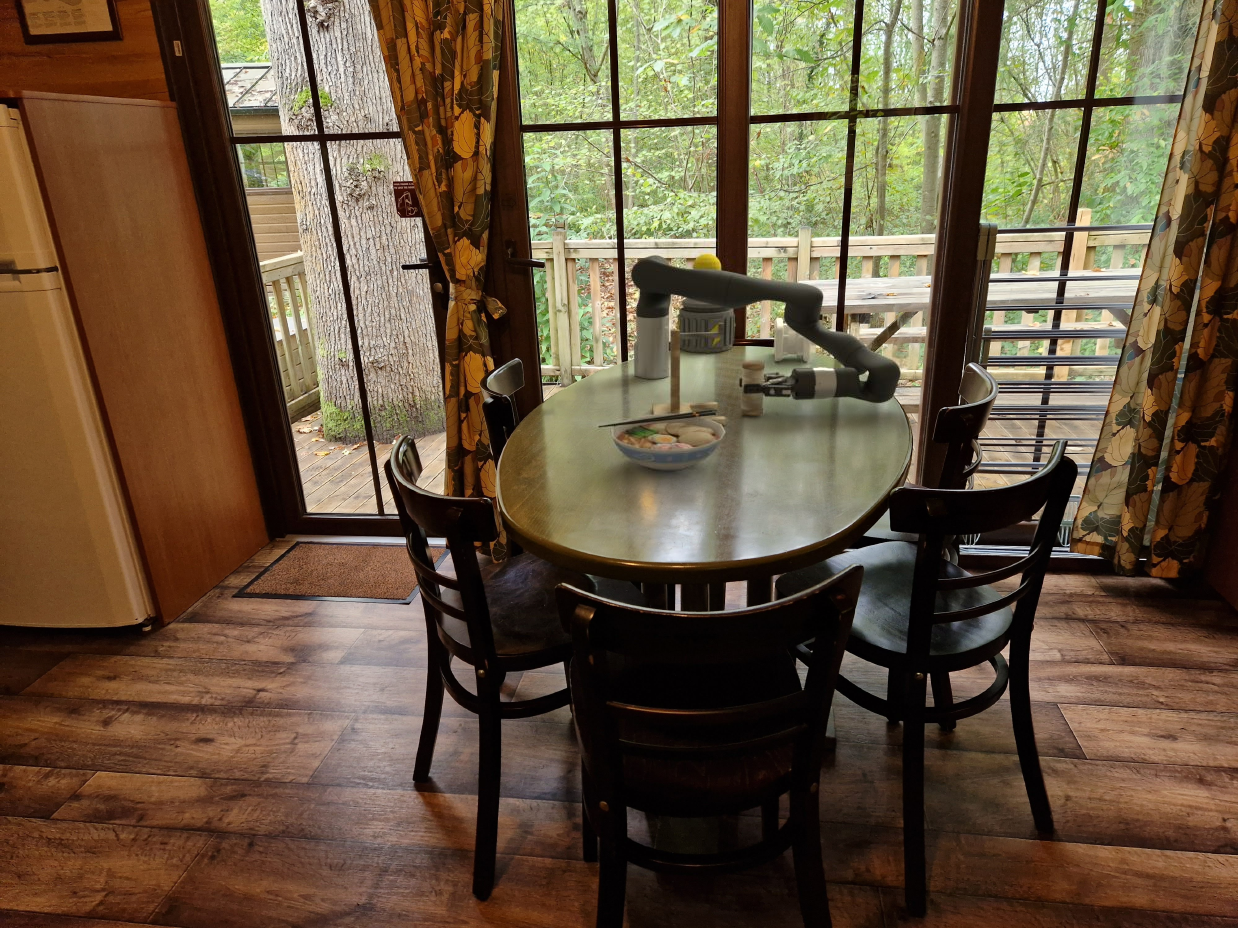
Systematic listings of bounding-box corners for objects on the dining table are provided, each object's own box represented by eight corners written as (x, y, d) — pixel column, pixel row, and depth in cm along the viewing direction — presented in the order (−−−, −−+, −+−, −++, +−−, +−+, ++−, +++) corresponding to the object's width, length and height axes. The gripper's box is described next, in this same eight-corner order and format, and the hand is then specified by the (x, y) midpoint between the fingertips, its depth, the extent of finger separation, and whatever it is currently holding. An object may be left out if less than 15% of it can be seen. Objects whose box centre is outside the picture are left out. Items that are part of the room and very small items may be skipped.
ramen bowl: (623, 494, 145) (622, 452, 142) (593, 454, 165) (592, 416, 162) (748, 477, 151) (750, 437, 148) (705, 440, 171) (705, 404, 168)
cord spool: (737, 413, 187) (739, 364, 182) (745, 407, 191) (746, 359, 186) (758, 416, 184) (760, 366, 180) (765, 410, 188) (767, 361, 184)
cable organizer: (809, 364, 233) (812, 325, 229) (773, 364, 235) (775, 325, 231) (806, 353, 247) (809, 316, 243) (772, 352, 249) (774, 316, 245)
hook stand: (716, 407, 194) (718, 318, 186) (725, 425, 181) (728, 329, 173) (652, 410, 194) (651, 320, 186) (656, 427, 181) (655, 331, 173)
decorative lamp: (721, 339, 269) (723, 249, 259) (743, 350, 252) (746, 254, 242) (669, 344, 265) (669, 252, 254) (688, 355, 248) (688, 258, 237)
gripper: (806, 360, 191) (736, 363, 190) (822, 375, 177) (747, 378, 177) (804, 390, 193) (735, 392, 193) (820, 407, 180) (746, 410, 180)
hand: (741, 385), depth 185 cm, fingers closed on cord spool, 5 cm apart
